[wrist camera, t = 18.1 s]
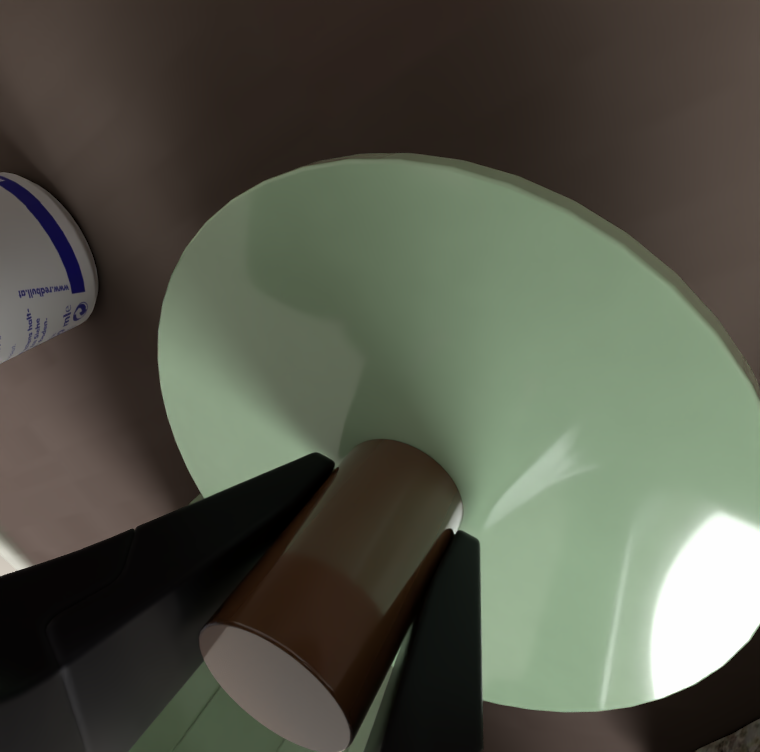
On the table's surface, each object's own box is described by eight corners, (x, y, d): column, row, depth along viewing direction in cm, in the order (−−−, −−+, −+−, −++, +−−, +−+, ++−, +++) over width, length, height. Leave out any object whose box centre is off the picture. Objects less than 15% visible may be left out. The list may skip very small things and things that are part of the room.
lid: (1025, 342, 6) (1522, 880, 2) (583, 737, 13) (528, 1034, 9) (193, 44, 9) (-195, 69, 5) (193, 500, 16) (28, 654, 12)
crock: (462, 579, 18) (309, 918, 11) (391, 713, 25) (267, 979, 18) (196, 429, 21) (-56, 631, 14) (195, 586, 27) (24, 776, 21)
